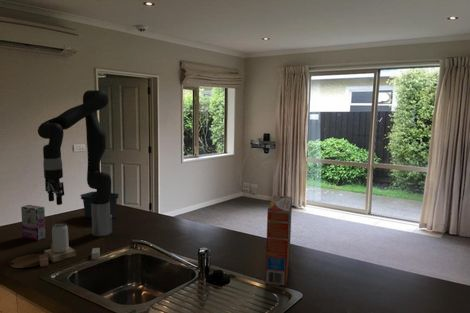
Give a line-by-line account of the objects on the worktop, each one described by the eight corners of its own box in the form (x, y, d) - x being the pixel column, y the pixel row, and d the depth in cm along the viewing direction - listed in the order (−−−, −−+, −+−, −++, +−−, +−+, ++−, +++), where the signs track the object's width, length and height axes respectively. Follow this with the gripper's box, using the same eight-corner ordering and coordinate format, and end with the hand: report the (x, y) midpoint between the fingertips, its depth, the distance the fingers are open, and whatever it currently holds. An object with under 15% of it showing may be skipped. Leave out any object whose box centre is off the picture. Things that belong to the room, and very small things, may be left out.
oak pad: (66, 249, 171) (66, 244, 171) (76, 255, 164) (75, 250, 164) (44, 255, 164) (44, 250, 163) (53, 262, 157) (52, 257, 157)
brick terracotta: (39, 261, 158) (39, 255, 158) (47, 260, 160) (46, 253, 159) (40, 267, 153) (40, 260, 153) (48, 265, 155) (48, 258, 154)
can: (62, 253, 160) (61, 227, 159) (49, 252, 162) (48, 226, 160) (71, 248, 167) (70, 223, 165) (59, 246, 168) (58, 221, 166)
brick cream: (91, 259, 161) (98, 259, 162) (91, 253, 161) (98, 252, 162) (92, 254, 167) (99, 253, 168) (92, 248, 166) (99, 247, 167)
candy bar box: (46, 237, 186) (45, 206, 184) (38, 241, 181) (36, 209, 179) (31, 234, 190) (29, 204, 188) (22, 237, 185) (20, 206, 183)
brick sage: (63, 246, 176) (62, 240, 175) (66, 247, 174) (66, 241, 174) (51, 250, 171) (50, 244, 170) (54, 251, 169) (54, 245, 169)
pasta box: (285, 286, 140) (288, 211, 136) (265, 283, 142) (267, 209, 138) (289, 261, 163) (292, 196, 158) (271, 260, 164) (273, 195, 160)
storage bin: (78, 218, 218) (77, 195, 216) (96, 211, 233) (95, 189, 231) (107, 222, 211) (106, 198, 209) (123, 215, 226) (123, 193, 224)
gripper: (68, 168, 160) (70, 204, 162) (55, 164, 169) (57, 198, 172) (51, 171, 154) (53, 207, 157) (37, 166, 164) (40, 201, 166)
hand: (55, 202), depth 164 cm, fingers open, 8 cm apart
